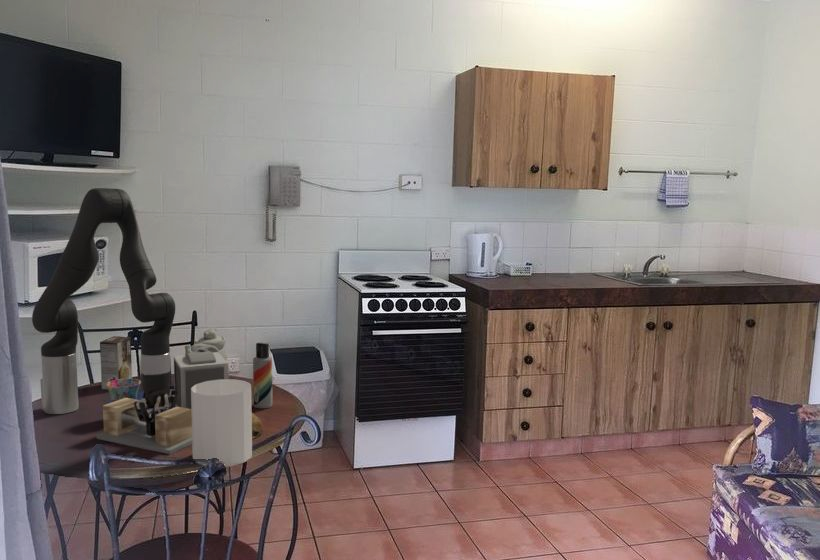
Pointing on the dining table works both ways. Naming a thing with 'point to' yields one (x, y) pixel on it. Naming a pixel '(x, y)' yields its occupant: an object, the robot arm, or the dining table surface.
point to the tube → (132, 419)
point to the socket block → (173, 426)
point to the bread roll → (256, 426)
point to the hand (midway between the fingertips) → (157, 432)
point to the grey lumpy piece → (208, 344)
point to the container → (222, 421)
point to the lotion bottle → (262, 377)
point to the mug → (123, 389)
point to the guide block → (117, 416)
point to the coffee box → (115, 359)
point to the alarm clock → (196, 373)
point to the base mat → (143, 441)
